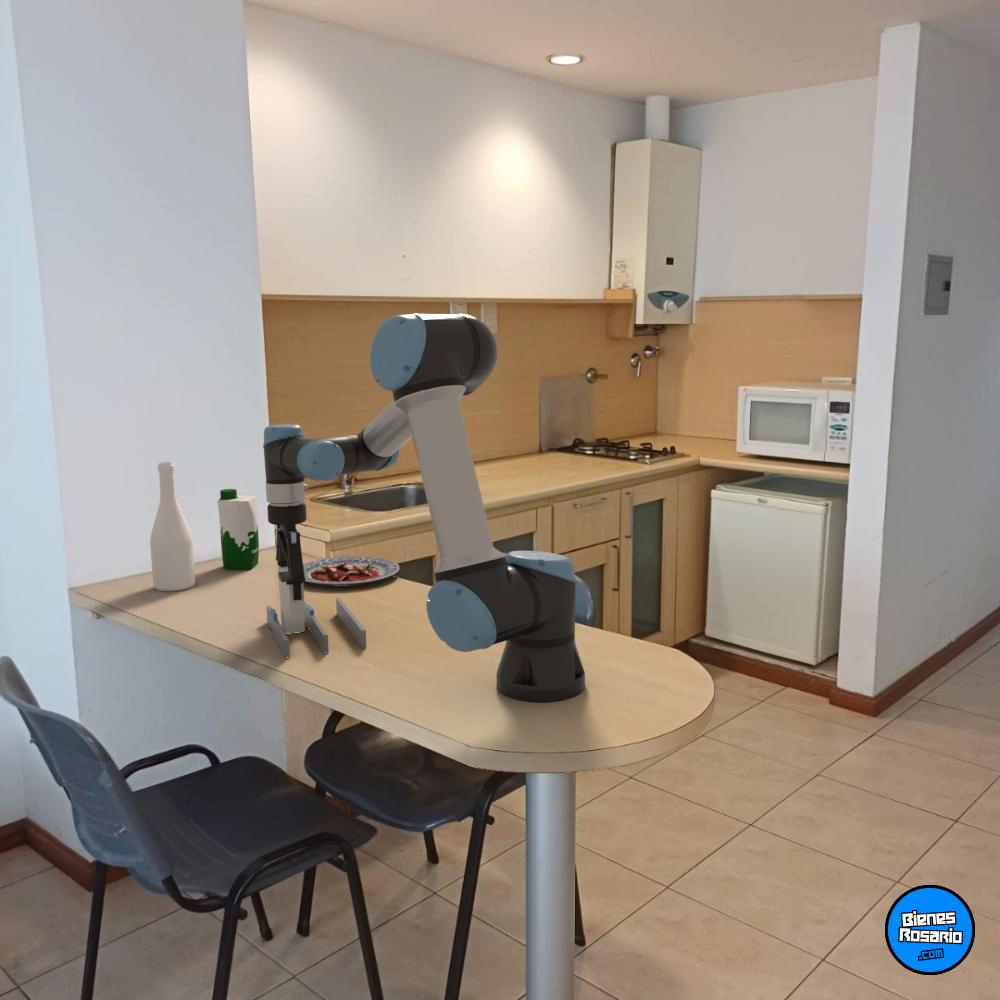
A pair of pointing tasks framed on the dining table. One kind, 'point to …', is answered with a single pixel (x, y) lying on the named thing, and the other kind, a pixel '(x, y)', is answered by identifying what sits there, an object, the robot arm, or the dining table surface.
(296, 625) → the block
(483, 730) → the dining table surface
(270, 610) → the grey upright slats
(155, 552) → the wine bottle
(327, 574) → the ceramic plate
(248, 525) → the milk carton
